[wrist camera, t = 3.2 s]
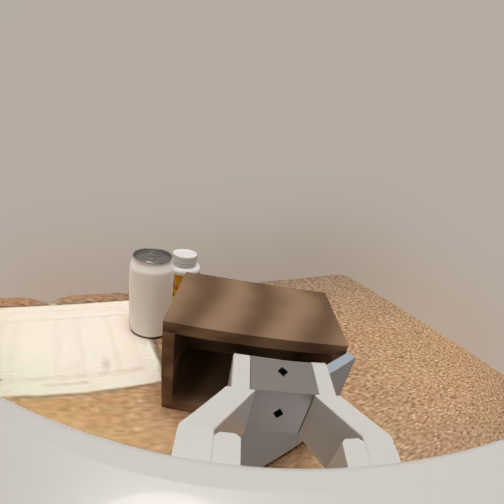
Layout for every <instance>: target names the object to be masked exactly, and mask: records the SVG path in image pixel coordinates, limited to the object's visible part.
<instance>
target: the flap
mask: <svg viewBox="0 0 504 504" xmlns="http://www.w3.org/2000/svg"><path fill="white" fill-rule="evenodd" d="M355 358H356V357H354V356H352V355H351V354H349V353H346V354H344V355H343V356H341V357H339V358H338V359H336V360H334V361H332V362H331V363H329V364H327V367H328V371H329V374H330V377H331V380H332V383H333V387H334V390H335V393H336V396H339V395H340V392H341V390H342V388H343V386H344V383H345V381H346V379H347V377H348V374H349V372H350V370H351V367H352V365H353V362H354V360H355ZM301 442H303V441H302V439H301V438H300V437H299V436H298V434H293V433H281V432H269V431H253V430H245V432H244V433H243V434H242V435H241V459H240V465H243V466H255V467H263V466H265V465H266V464H268V463H270V462H271V461H273V460H275V459H276V458H278V457H280V456H281V455H283V454H284V453H286V452H288V451H289V450H291V449H292V448H294V447H295V446H297V445H298V444H300V443H301Z"/></svg>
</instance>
